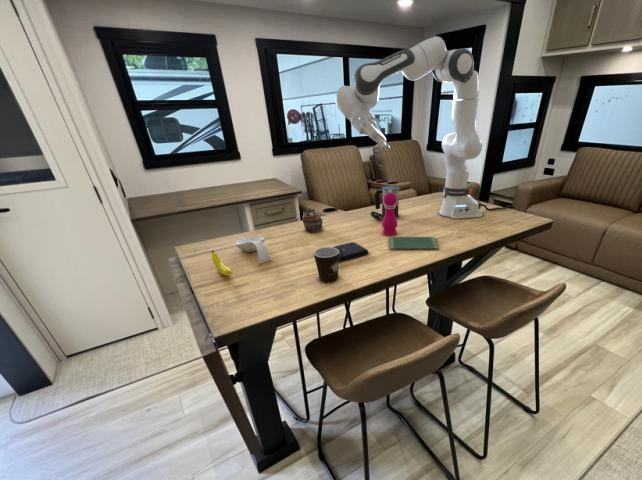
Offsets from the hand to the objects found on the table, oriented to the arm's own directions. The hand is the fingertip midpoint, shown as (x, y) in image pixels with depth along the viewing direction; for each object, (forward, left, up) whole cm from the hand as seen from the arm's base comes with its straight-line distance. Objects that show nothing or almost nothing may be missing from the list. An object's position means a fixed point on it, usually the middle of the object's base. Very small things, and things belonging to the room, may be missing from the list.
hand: (386, 147), depth 133 cm
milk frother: (0, -20, -36) cm, 41 cm away
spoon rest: (+54, +27, -36) cm, 71 cm away
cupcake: (+35, -1, -36) cm, 51 cm away
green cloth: (-12, +17, -36) cm, 42 cm away
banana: (+60, +46, -36) cm, 84 cm away
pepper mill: (-2, +4, -36) cm, 37 cm away
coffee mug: (+19, +48, -36) cm, 63 cm away
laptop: (+18, +28, -36) cm, 50 cm away
